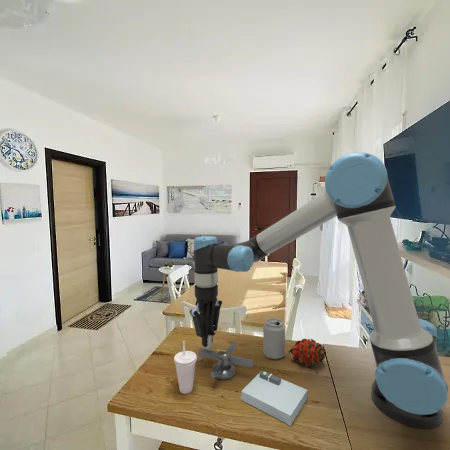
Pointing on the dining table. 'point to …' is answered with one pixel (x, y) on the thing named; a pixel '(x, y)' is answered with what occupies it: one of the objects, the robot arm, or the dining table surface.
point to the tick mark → (199, 359)
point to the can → (274, 338)
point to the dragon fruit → (308, 352)
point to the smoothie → (185, 369)
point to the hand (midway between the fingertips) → (207, 354)
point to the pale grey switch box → (275, 396)
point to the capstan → (225, 361)
